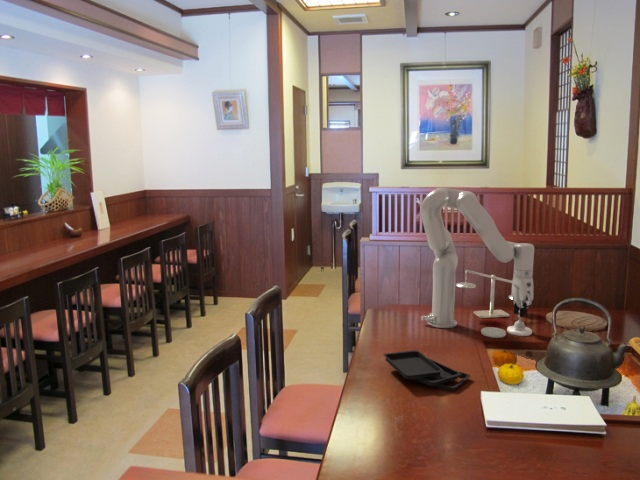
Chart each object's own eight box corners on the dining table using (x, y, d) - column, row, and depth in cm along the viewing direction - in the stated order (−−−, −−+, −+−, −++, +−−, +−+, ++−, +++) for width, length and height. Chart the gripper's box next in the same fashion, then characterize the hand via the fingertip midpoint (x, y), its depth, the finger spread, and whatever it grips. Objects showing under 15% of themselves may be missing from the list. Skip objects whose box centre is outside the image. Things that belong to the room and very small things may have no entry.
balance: (459, 319, 255) (461, 272, 252) (451, 314, 264) (453, 268, 260) (531, 315, 262) (534, 269, 258) (521, 310, 271) (524, 265, 267)
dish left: (487, 338, 231) (488, 335, 231) (476, 330, 240) (477, 327, 240) (510, 336, 233) (510, 334, 232) (498, 329, 242) (498, 326, 242)
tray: (474, 374, 195) (475, 360, 194) (456, 401, 175) (457, 385, 174) (393, 359, 209) (393, 345, 208) (367, 382, 189) (368, 367, 188)
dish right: (514, 336, 233) (514, 333, 233) (502, 329, 243) (502, 326, 242) (536, 335, 235) (536, 332, 235) (523, 327, 244) (524, 325, 244)
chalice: (529, 330, 234) (532, 288, 231) (512, 329, 236) (514, 287, 233) (526, 324, 241) (529, 284, 238) (509, 323, 243) (512, 283, 240)
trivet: (535, 322, 253) (535, 318, 253) (561, 311, 270) (561, 307, 269) (592, 336, 235) (592, 331, 235) (616, 323, 251) (616, 319, 251)
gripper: (542, 277, 227) (539, 320, 230) (520, 268, 243) (517, 309, 246) (525, 277, 226) (522, 321, 229) (504, 268, 242) (502, 309, 245)
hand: (520, 314), depth 237 cm, fingers open, 4 cm apart
